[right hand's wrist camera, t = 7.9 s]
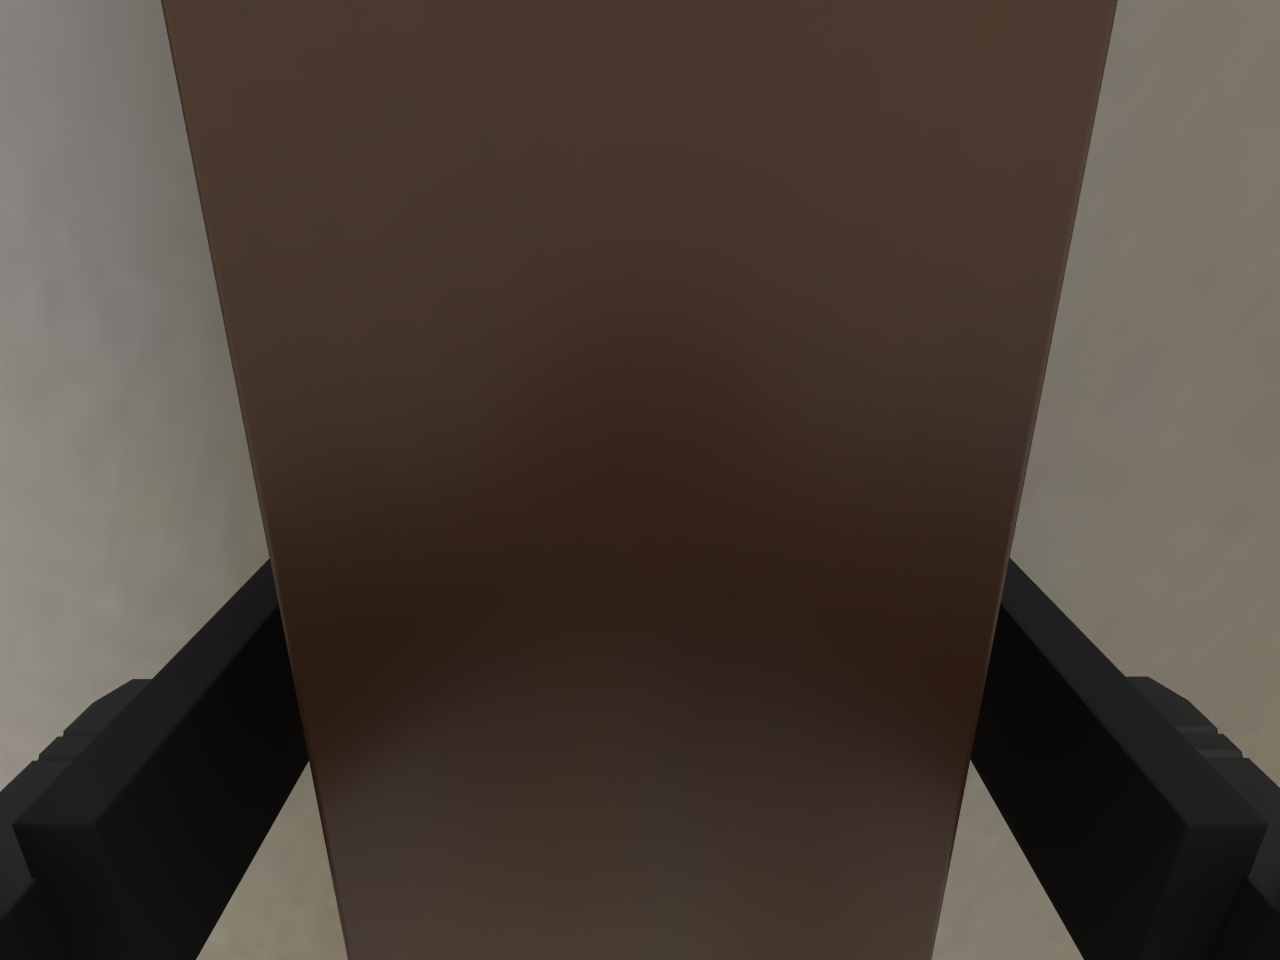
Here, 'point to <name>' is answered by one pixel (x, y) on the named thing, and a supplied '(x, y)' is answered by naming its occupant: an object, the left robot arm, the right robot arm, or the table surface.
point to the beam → (639, 441)
